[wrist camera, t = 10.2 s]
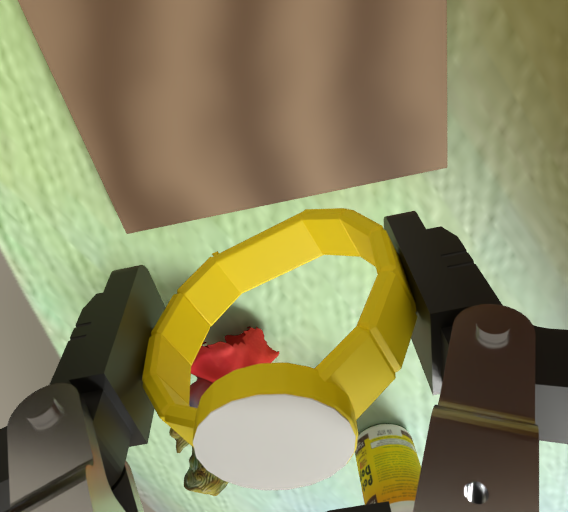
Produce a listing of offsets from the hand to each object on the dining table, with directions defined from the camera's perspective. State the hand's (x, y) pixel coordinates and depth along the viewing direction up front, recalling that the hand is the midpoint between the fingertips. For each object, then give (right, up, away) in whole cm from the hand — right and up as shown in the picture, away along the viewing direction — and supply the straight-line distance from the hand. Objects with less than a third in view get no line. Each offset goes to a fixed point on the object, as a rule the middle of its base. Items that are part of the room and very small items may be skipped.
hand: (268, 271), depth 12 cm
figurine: (-4, -7, +26) cm, 27 cm away
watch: (0, +1, +1) cm, 1 cm away
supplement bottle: (+10, -17, +34) cm, 39 cm away
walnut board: (-1, +10, +14) cm, 17 cm away
